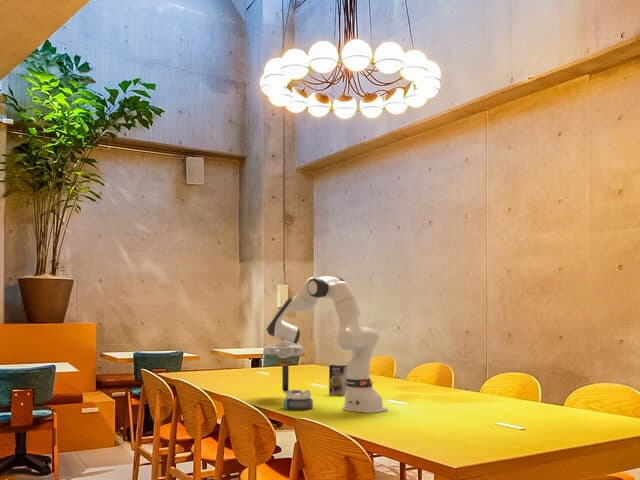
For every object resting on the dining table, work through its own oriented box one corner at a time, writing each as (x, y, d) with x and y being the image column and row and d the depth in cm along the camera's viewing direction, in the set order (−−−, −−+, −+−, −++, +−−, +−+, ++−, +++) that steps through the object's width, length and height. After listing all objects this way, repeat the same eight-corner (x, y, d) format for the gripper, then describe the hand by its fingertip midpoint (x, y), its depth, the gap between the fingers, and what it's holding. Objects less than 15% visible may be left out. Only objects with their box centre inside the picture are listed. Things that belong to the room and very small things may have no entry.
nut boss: (318, 408, 322) (318, 398, 322) (293, 411, 312) (293, 400, 313) (301, 404, 333) (301, 394, 333) (276, 407, 323) (276, 397, 324)
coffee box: (328, 394, 368) (328, 365, 370) (333, 393, 374) (333, 364, 376) (343, 395, 364) (343, 366, 366) (348, 394, 370) (348, 364, 371)
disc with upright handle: (314, 398, 326) (314, 365, 328) (304, 401, 315) (304, 367, 317) (287, 396, 332) (287, 364, 333) (277, 400, 321) (277, 366, 322)
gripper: (263, 343, 353) (263, 345, 339) (302, 343, 354) (303, 345, 341) (263, 355, 352) (263, 358, 338) (302, 355, 354) (303, 357, 340)
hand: (284, 351), depth 340 cm, fingers open, 5 cm apart
